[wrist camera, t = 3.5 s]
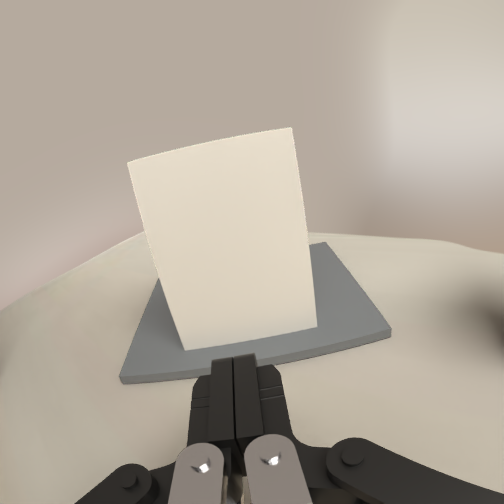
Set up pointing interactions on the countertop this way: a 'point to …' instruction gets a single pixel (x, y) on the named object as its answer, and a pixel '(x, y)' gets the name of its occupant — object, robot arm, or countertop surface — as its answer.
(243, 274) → the tile
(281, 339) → the mat
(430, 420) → the countertop surface
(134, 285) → the countertop surface
